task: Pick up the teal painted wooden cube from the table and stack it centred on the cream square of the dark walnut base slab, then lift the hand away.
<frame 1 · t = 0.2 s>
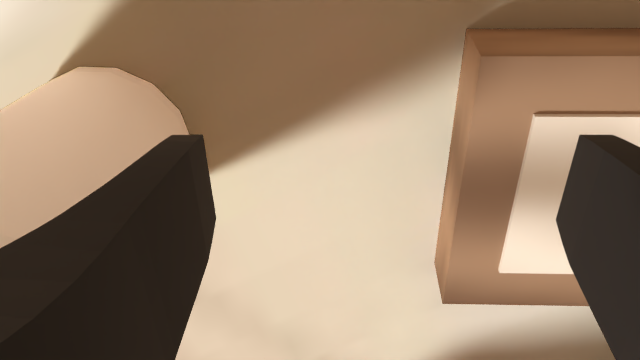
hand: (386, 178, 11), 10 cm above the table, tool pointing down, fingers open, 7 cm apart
foam cup: (115, 136, 23), on the table
walnut base: (582, 156, 23), on the table
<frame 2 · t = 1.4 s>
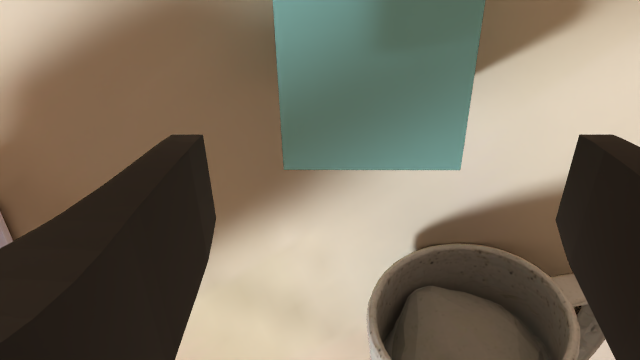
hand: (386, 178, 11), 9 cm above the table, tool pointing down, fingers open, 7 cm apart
teal cube: (367, 25, 18), on the table
ceramic mug: (477, 297, 26), on the table
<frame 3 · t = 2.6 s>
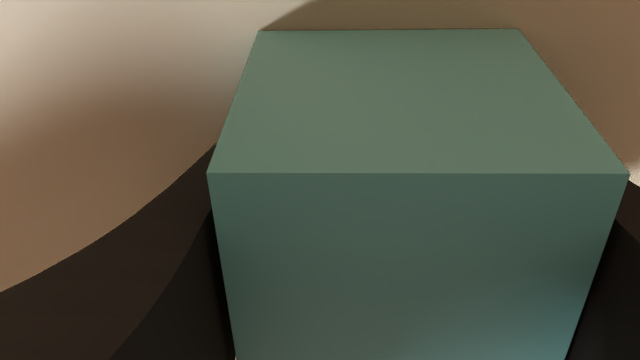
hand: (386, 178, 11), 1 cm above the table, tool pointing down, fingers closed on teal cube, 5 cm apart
teal cube: (381, 141, 12), on the table, touching gripper
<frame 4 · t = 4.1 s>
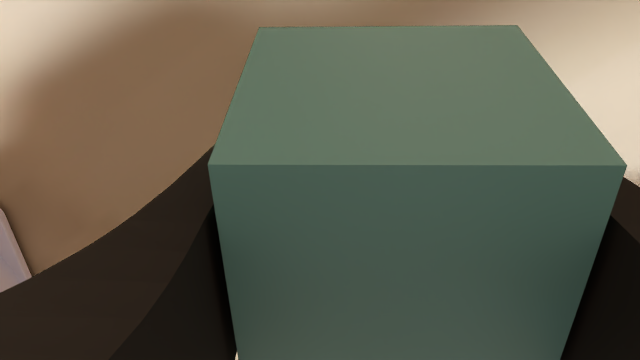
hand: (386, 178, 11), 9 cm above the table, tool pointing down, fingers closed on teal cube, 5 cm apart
teal cube: (381, 138, 12), point 7 cm above the table, touching gripper
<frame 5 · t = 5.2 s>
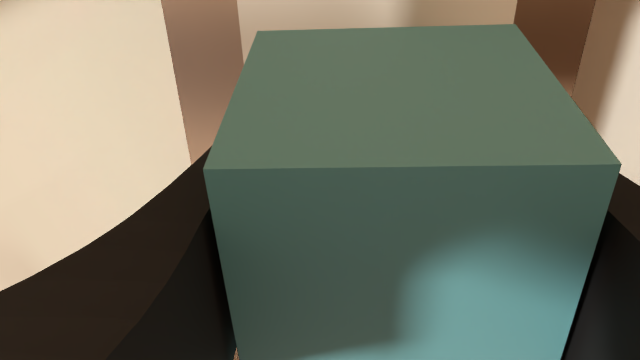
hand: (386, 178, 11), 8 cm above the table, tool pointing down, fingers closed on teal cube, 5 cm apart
walnut base: (369, 35, 18), on the table
teal cube: (381, 138, 12), point 6 cm above the table, touching gripper
when the fingers open (6 cm above the table, at t = 6.0 s): teal cube drops 2 cm, point 3 cm above the table.
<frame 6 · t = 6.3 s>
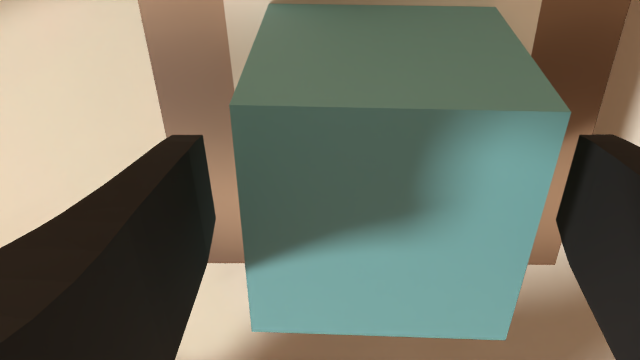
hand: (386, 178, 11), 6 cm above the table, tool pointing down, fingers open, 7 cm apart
walnut base: (371, 54, 16), on the table
teal cube: (374, 106, 14), point 3 cm above the table
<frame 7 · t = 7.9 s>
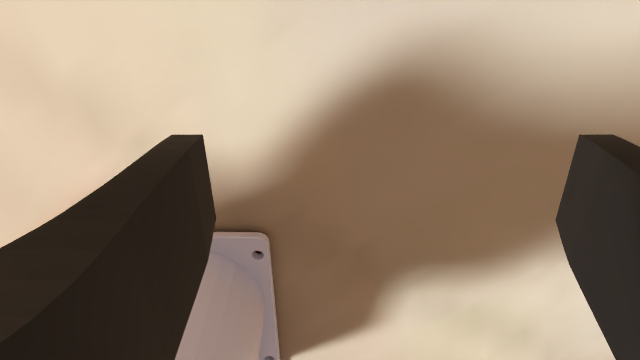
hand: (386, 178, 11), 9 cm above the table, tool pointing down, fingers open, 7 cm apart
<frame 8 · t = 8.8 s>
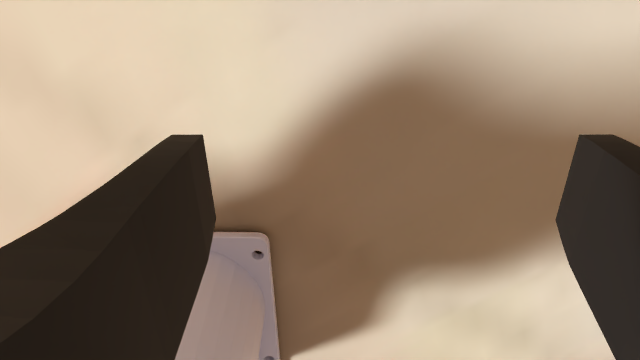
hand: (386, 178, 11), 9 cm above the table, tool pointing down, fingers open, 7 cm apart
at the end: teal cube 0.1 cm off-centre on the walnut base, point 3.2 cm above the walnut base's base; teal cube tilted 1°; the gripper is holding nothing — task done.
